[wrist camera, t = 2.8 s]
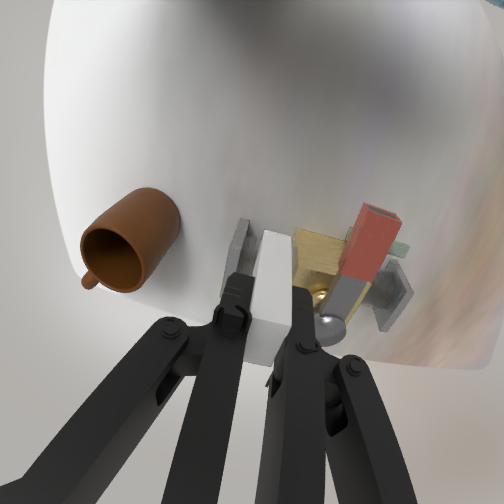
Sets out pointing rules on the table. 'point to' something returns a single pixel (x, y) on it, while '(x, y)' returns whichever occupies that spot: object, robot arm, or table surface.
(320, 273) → the valve pipe
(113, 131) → the table surface
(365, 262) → the lever
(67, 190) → the table surface
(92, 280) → the mug
